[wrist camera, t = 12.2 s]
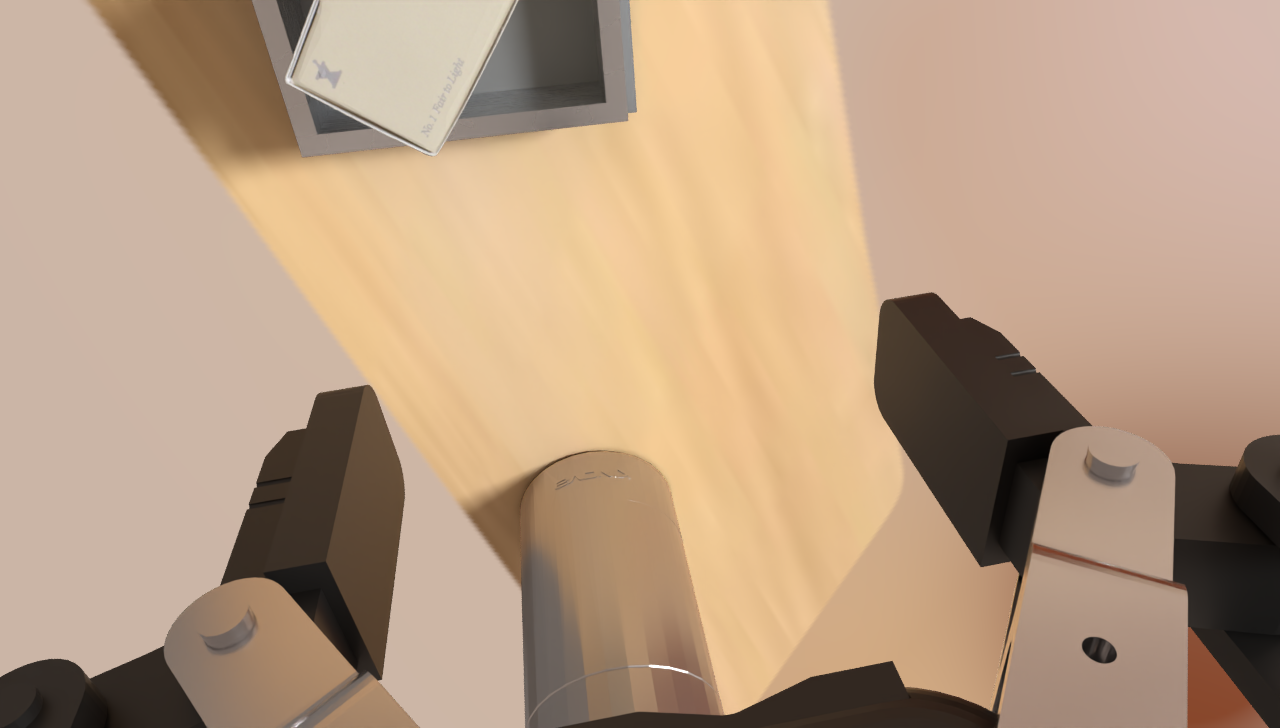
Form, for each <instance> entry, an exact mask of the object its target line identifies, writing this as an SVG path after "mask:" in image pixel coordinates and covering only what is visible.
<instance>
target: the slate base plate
mask: <svg viewBox="0 0 1280 728" xmlns="http://www.w3.org/2000/svg"><path fill="white" fill-rule="evenodd" d="M299 1H300V5H301V8H302V11H303V15H304V18H305V21H306V18H307V16H308V13H309V10H310V7H311V5H312V2H313V0H299ZM619 2H620V16H621V29H622V43H623V56H624V70H625V83H626V97H627V110H628V113H633V112H637V108H636V93H635V78H634V64H633V49H632V34H631V19H630V4H629V0H619ZM598 80H599V77H598V66H597V55H596V44H595V34H594V23H593V12H592V1H591V0H518V2H517V4H516V6H515V8H514V11H513V13H512V15H511V17H510V19H509V21H508V23H507V25H506V27H505V29H504V31H503V33H502V35H501V37H500V39H499V41H498V43H497V45H496V47H495V49H494V51H493V53H492V55H491V57H490V59H489V61H488V63H487V65H486V67H485V69H484V71H483V73H482V75H481V77H480V79H479V81H478V83H477V85H476V87H475V88H474V90H473V92H472V94H477V93H486V92H496V91H505V90H514V89H524V88H533V87H542V86H551V85H561V84H570V83H579V82H589V81H598ZM330 108H331V109H334V108H332V107H330Z"/></svg>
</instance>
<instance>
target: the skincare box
mask: <svg viewBox="0 0 1280 728" xmlns="http://www.w3.org/2000/svg"><path fill="white" fill-rule="evenodd" d="M517 2H518V0H313V2H312V5H311V7H310V10H309V13H308V16H307V18H306V21H305V24H304V26H303V29H302V32H301V35H300V37H299V40H298V43H297V45H296V48H295V51H294V54H293V57H292V60H291V63H290V65H289V68H288V70H287V72H286V75H285V83H286V84H288V85H290V86H292V87H294V88H296V89H298V90H300V91H302V92H304V93H306V94H307V95H309V96H311V97H313V98H315V99H317V100H319V101H321V102H322V103H324V104H326V105H328V106H330V107H332V108H334V109H335V110H338V111H340V112H341V113H343V114H345V115H347V116H349V117H351V118H353V119H355V120H357V121H359V122H361V123H363V124H365V125H367V126H369V127H371V128H373V129H375V130H376V131H378V132H380V133H382V134H385V135H386V136H388V137H390V138H392V139H394V140H397V141H399V142H401V143H403V144H405V145H407V146H409V147H412V148H414V149H416V150H418V151H420V152H422V153H424V154H426V155H429V156H436V155H437V154H438V152H439V151H440V149H441V148H442V146H443V144H444V143H445V141H446V139H447V138H448V136H449V134H450V133H451V131H452V129H453V127H454V126H455V124H456V122H457V120H458V118H459V116H460V114H461V113H462V111H463V109H464V107H465V106H466V104H467V102H468V100H469V98H470V96H471V94H472V92H473V90H474V88H475V87H476V85H477V83H478V81H479V79H480V77H481V75H482V73H483V71H484V69H485V67H486V65H487V63H488V61H489V59H490V57H491V55H492V53H493V51H494V49H495V47H496V45H497V43H498V41H499V39H500V37H501V35H502V33H503V31H504V29H505V27H506V25H507V23H508V21H509V19H510V17H511V15H512V13H513V11H514V8H515V6H516V4H517Z"/></svg>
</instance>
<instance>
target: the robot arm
mask: <svg viewBox="0 0 1280 728" xmlns="http://www.w3.org/2000/svg"><path fill="white" fill-rule="evenodd" d="M1035 369H1036V368H1035V367H1034V366H1033V365H1032V364H1031V363H1030V362H1029V361H1028V360H1027V359H1026V358H1025V357H1024V356H1022V357H1021V356H1020V352H1019V351H1018V350H1017V349H1016V348H1015V347H1014V346H1013V345H1012V344H1011V343H1010V342H1009V341H1008V340H1007V339H1006V338H1005V337H1004V336H1003V335H1002V334H1001V333H1000V332H998V331H996V330H994V329H992V328H990V327H989V326H987V325H985V324H982V323H981V322H979V321H977V320H975V319H973V318H971V317H970V318H964V319H959V318H958V316H957V315H956V314H955V313H954V312H953V311H952V310H951V309H950V308H949V307H948V306H947V305H946V304H945V303H944V302H943V300H942V299H941V298H940V297H939V296H938V295H937V294H934V293H932V292H931V293H925V294H919V295H913V296H907V297H901V298H895V299H889V300H886V301H884V302H883V304H882V306H881V309H880V316H879V327H878V339H877V351H876V363H875V375H874V388H875V395H876V400H877V404H878V407H879V410H880V412H881V414H882V416H883V418H884V420H885V421H886V423H887V424H888V426H889V427H890V429H891V430H892V432H893V433H894V435H895V436H896V438H897V440H898V441H899V443H900V444H901V446H902V447H903V449H904V450H905V452H906V453H907V455H908V456H909V458H910V459H911V461H912V463H913V464H914V466H915V467H916V469H917V470H918V471H919V473H920V475H921V476H922V477H923V479H924V481H925V482H926V484H927V486H928V487H929V489H930V490H931V491H932V493H933V495H934V496H935V498H936V499H937V501H938V502H939V504H940V505H941V507H942V508H943V510H944V512H945V513H946V515H947V516H948V518H949V519H950V521H951V522H952V524H953V525H954V527H955V528H956V530H957V531H958V533H959V535H960V536H961V538H962V539H963V541H964V542H965V544H966V545H967V547H968V548H969V550H970V551H971V553H972V554H973V556H974V558H975V559H976V561H977V562H978V564H979V565H980V567H984V566H990V565H995V564H1000V563H1005V562H1010V561H1011V562H1012V564H1013V565H1014V567H1015V568H1016V570H1017V571H1018V572H1019V574H1018V578H1017V582H1016V586H1015V590H1014V595H1013V599H1012V604H1011V609H1010V614H1009V619H1008V624H1007V628H1006V633H1005V638H1004V642H1003V647H1002V652H1001V657H1000V662H999V666H998V671H997V677H996V681H995V685H994V690H993V695H992V699H991V703H990V708H989V710H988V709H986V708H983V707H982V706H979V705H977V704H975V703H972V702H969V701H967V700H964V699H962V698H959V697H956V696H952V695H948V694H945V693H941V692H937V691H932V690H926V689H919V688H910V687H904V684H903V682H902V680H901V678H900V676H899V674H898V672H897V670H896V668H895V665H894V663H893V661H890V662H885V663H880V664H875V665H870V666H865V667H860V668H855V669H850V670H844V671H839V672H834V673H829V674H825V675H819V676H814V677H810V678H808V679H806V680H804V681H802V682H800V683H798V684H796V685H794V686H792V687H790V688H788V689H785V690H783V691H781V692H779V693H777V694H775V695H773V696H771V697H769V698H767V699H765V700H763V701H761V702H759V703H756V704H754V705H752V706H750V707H748V708H746V709H744V710H742V711H740V712H737V713H735V714H730V715H724V712H723V708H722V704H721V700H720V697H719V693H718V689H717V684H716V680H715V676H714V672H713V668H712V664H711V659H710V655H709V651H708V647H707V643H706V638H705V634H704V630H703V626H702V622H701V617H700V613H699V609H698V605H697V601H696V596H695V592H694V588H693V584H692V580H691V575H690V571H689V567H688V563H687V559H686V555H685V550H684V546H683V541H682V537H681V533H680V528H679V524H678V520H677V516H676V512H675V508H674V504H673V499H672V495H671V492H670V489H669V486H668V483H667V481H666V480H665V478H664V477H663V475H662V474H661V473H660V471H658V470H657V469H656V468H655V467H654V466H652V465H651V464H650V463H648V462H646V461H644V460H642V459H640V458H638V457H636V456H632V455H628V454H625V453H620V452H610V451H599V452H587V453H583V454H578V455H574V456H571V457H568V458H566V459H563V460H561V461H558V462H556V463H555V464H553V465H551V466H550V467H548V468H547V469H545V470H543V471H542V472H541V473H540V474H539V475H538V476H537V477H536V478H535V479H534V480H533V481H532V482H531V484H530V485H529V487H528V488H527V489H526V491H525V493H524V496H523V499H522V501H521V508H520V533H521V584H522V622H523V660H524V694H525V695H524V697H525V728H1187V670H1188V668H1187V667H1188V664H1187V663H1188V662H1187V661H1188V627H1191V628H1192V630H1193V631H1194V632H1195V633H1196V635H1197V636H1198V637H1199V638H1200V640H1201V641H1202V643H1203V644H1204V645H1205V646H1206V648H1207V649H1208V650H1209V652H1210V653H1211V654H1212V655H1213V657H1214V658H1215V659H1216V660H1217V662H1218V663H1219V664H1220V666H1221V667H1222V668H1223V669H1224V671H1225V672H1226V673H1227V674H1228V676H1229V677H1230V678H1231V680H1232V681H1233V682H1234V684H1235V685H1236V686H1237V687H1238V689H1239V690H1240V691H1241V692H1242V694H1243V695H1244V696H1245V698H1246V699H1247V700H1248V701H1249V703H1250V704H1251V705H1252V707H1253V708H1254V709H1255V710H1256V712H1257V713H1258V714H1259V715H1260V717H1261V718H1262V719H1263V721H1264V722H1265V723H1266V724H1267V726H1268V727H1269V728H1280V435H1272V436H1266V437H1262V438H1259V439H1257V440H1254V441H1253V442H1251V443H1250V444H1249V445H1248V446H1247V447H1246V448H1245V451H1244V453H1243V456H1242V458H1241V460H1240V462H1239V465H1238V467H1231V466H1213V465H1195V464H1178V463H1171V461H1170V460H1169V458H1168V457H1167V456H1166V455H1165V454H1164V453H1163V452H1162V451H1161V450H1160V449H1159V448H1157V447H1156V446H1155V445H1154V444H1152V443H1150V442H1149V441H1146V440H1145V439H1143V438H1141V437H1139V436H1137V435H1135V434H1132V433H1129V432H1126V431H1123V430H1119V429H1115V428H1109V427H1100V426H1092V425H1091V424H1090V423H1089V422H1088V421H1087V420H1086V419H1085V418H1084V417H1083V416H1082V415H1081V414H1080V413H1079V412H1078V411H1077V410H1076V409H1075V408H1074V407H1073V406H1072V405H1071V404H1070V403H1069V402H1068V401H1067V400H1066V399H1065V398H1064V397H1063V396H1062V395H1061V394H1060V393H1059V392H1058V391H1057V389H1055V387H1054V386H1052V385H1051V383H1049V381H1048V380H1047V379H1045V377H1044V376H1043V375H1041V373H1040V372H1039V373H1036V370H1035ZM404 491H405V489H404V479H403V473H402V468H401V464H400V461H399V458H398V455H397V452H396V449H395V446H394V444H393V441H392V438H391V435H390V432H389V430H388V427H387V424H386V421H385V419H384V416H383V413H382V410H381V407H380V404H379V402H378V399H377V396H376V394H375V392H374V390H373V388H372V387H371V386H370V385H364V386H359V387H352V388H346V389H341V390H334V391H329V392H323V393H319V394H318V395H317V396H316V398H315V401H314V405H313V408H312V412H311V415H310V418H309V421H308V425H307V428H306V429H300V430H295V431H288V432H287V433H286V434H285V435H284V436H283V437H282V439H281V440H280V441H279V442H278V443H277V444H276V445H275V447H274V448H273V449H272V450H271V451H270V452H269V453H268V455H267V456H266V457H265V459H264V462H263V465H262V468H261V471H260V474H259V476H258V479H257V488H254V491H253V494H252V496H251V500H250V502H249V507H250V508H249V509H248V510H247V511H246V513H245V516H244V519H243V522H242V525H241V528H240V530H239V533H238V536H237V539H236V542H235V545H234V548H233V550H232V553H231V556H230V559H229V562H228V565H227V567H226V571H225V573H224V576H223V579H222V582H221V585H220V586H219V587H217V588H214V589H213V590H211V591H209V592H207V593H206V594H204V595H202V596H201V597H200V598H198V599H197V600H195V601H194V602H193V603H192V604H191V605H190V606H188V607H187V608H186V609H185V610H184V611H183V612H182V613H181V615H180V616H179V617H178V618H177V620H176V621H175V622H174V623H173V625H172V627H171V629H170V630H169V632H168V634H167V637H166V640H165V645H164V646H162V647H160V648H158V649H156V650H154V651H152V652H150V653H148V654H146V655H143V656H141V657H139V658H136V659H134V660H132V661H130V662H127V663H125V664H123V665H120V666H118V667H116V668H113V669H111V670H109V671H106V672H104V673H102V674H100V675H97V676H95V677H93V678H91V679H89V678H88V676H87V675H86V674H85V673H84V671H83V670H82V669H81V668H80V667H79V666H78V665H76V664H75V663H73V662H71V661H69V660H63V659H48V660H42V661H37V662H34V663H30V664H27V665H25V666H23V667H20V668H17V669H15V670H13V671H11V672H9V673H7V674H5V675H3V676H2V677H0V728H420V727H419V726H418V725H417V724H416V723H415V722H414V721H413V720H412V719H411V717H410V716H409V715H408V714H407V713H406V712H405V711H404V710H403V708H402V707H401V706H400V705H399V704H398V703H397V702H396V701H395V699H393V697H392V696H391V695H390V694H389V693H388V692H387V691H386V689H385V688H384V687H383V686H382V685H381V684H380V683H379V682H378V680H382V675H383V667H384V658H385V650H386V643H387V634H388V627H389V619H390V610H391V603H392V596H393V587H394V580H395V572H396V563H397V556H398V548H399V540H400V531H401V524H402V516H403V507H404V499H405V492H404Z"/></svg>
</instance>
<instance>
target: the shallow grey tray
mask: <svg viewBox="0 0 1280 728" xmlns="http://www.w3.org/2000/svg"><path fill="white" fill-rule="evenodd" d="M591 1H592V12H593V23H594V34H595V44H596V55H597V66H598V77H599V80H598V81H589V82H579V83H570V84H561V85H551V86H542V87H533V88H524V89H514V90H505V91H496V92H486V93H477V94H471V96H470V98H469V100H468V102H467V104H466V106H465V107H464V109H463V111H462V113H461V114H460V116H459V118H458V120H457V122H456V124H455V126H454V127H453V129H452V131H451V133H450V134H449V136H448V138H447V139H446V141H453V140H462V139H471V138H480V137H489V136H497V135H506V134H515V133H524V132H533V131H542V130H551V129H560V128H569V127H578V126H587V125H596V124H605V123H614V122H623V121H628V110H627V97H626V83H625V70H624V56H623V43H622V29H621V16H620V2H619V0H591ZM252 3H253V6H254V9H255V12H256V15H257V19H258V22H259V25H260V28H261V31H262V34H263V37H264V40H265V43H266V46H267V50H268V53H269V56H270V59H271V62H272V65H273V68H274V71H275V74H276V77H277V81H278V84H279V87H280V90H281V93H282V96H283V99H284V102H285V105H286V108H287V112H288V115H289V118H290V121H291V124H292V127H293V130H294V133H295V136H296V139H297V143H298V146H299V149H300V152H301V155H302V157H310V156H318V155H327V154H336V153H345V152H354V151H363V150H372V149H381V148H390V147H399V146H407V145H405V144H403V143H401V142H399V141H397V140H394V139H392V138H390V137H388V136H386V135H385V134H382V133H380V132H378V131H376V130H375V129H373V128H371V127H369V126H367V125H365V124H363V123H361V122H359V121H357V120H355V119H353V118H351V117H349V116H347V115H345V114H343V113H341V112H340V111H338V110H335V109H331V108H330V106H328V105H326V104H324V103H322V102H321V101H319V100H317V99H315V98H313V97H311V96H309V95H307V94H306V93H304V92H302V91H300V90H298V89H296V88H294V87H292V86H290V85H288V84H286V83H285V75H286V72H287V70H288V68H289V65H290V63H291V60H292V57H293V54H294V51H295V48H296V45H297V43H298V40H299V37H300V35H301V32H302V29H303V26H304V24H305V18H304V15H303V11H302V8H301V5H300V1H299V0H252Z"/></svg>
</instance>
